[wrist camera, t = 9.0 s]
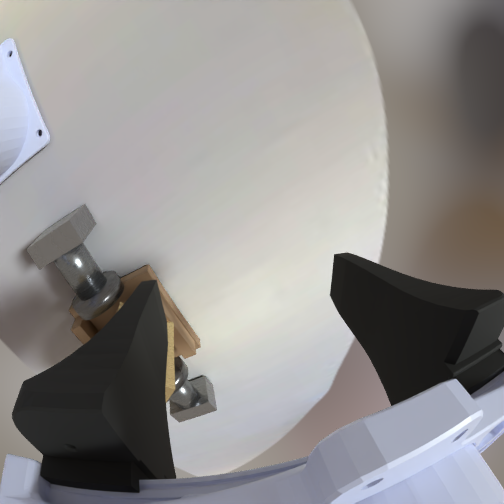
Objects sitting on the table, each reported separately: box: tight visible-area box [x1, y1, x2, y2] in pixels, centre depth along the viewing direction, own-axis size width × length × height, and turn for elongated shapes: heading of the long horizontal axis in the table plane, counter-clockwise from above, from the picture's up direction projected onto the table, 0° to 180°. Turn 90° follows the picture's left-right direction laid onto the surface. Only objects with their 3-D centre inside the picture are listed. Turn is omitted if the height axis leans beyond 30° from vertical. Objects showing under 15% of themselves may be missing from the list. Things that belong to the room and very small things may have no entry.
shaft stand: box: [26, 204, 217, 422], centre depth 21 cm, size 20×8×4 cm, turn 22°
